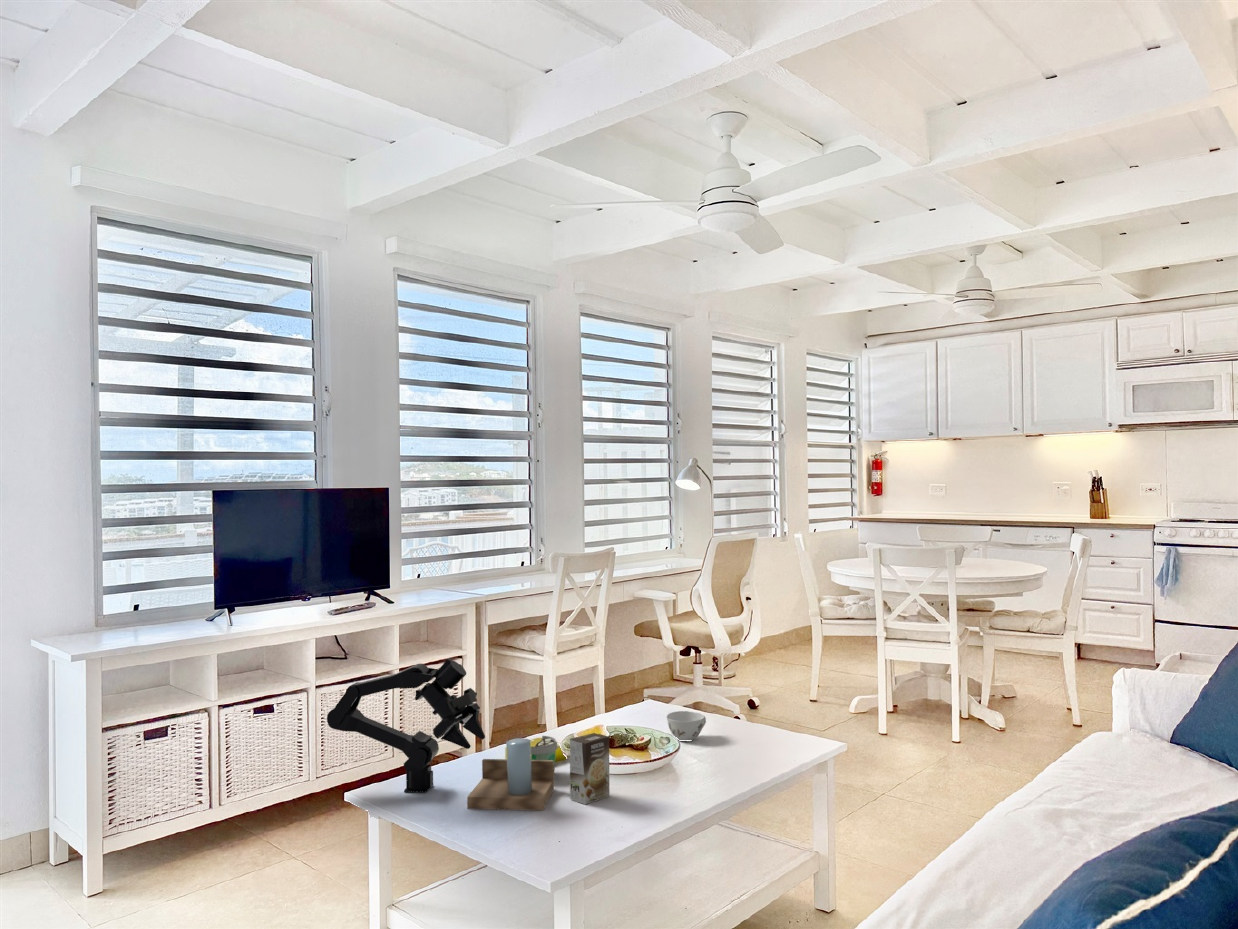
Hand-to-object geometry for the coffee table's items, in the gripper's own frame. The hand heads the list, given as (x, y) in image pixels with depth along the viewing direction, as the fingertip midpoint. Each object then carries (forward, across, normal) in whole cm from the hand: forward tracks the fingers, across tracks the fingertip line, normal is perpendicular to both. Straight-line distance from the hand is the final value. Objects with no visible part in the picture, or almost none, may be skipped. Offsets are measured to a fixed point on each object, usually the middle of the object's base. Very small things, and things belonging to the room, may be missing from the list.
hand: (476, 743), depth 235 cm
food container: (+20, +18, 0) cm, 26 cm away
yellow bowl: (+13, +33, +7) cm, 36 cm away
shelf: (+17, -2, +2) cm, 18 cm away
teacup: (+42, +64, -23) cm, 80 cm away
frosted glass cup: (+18, -4, -3) cm, 18 cm away
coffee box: (+32, +4, -12) cm, 35 cm away
